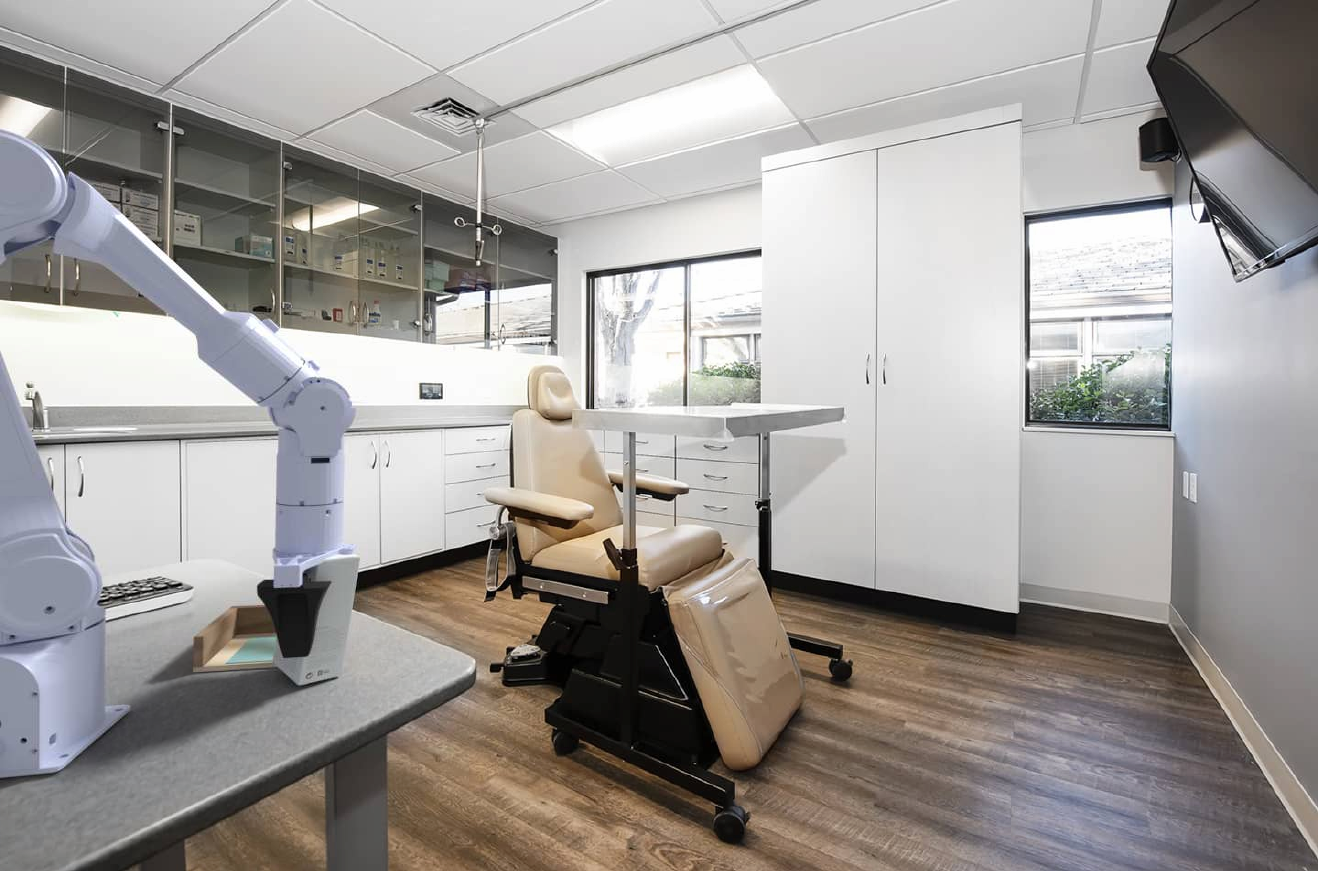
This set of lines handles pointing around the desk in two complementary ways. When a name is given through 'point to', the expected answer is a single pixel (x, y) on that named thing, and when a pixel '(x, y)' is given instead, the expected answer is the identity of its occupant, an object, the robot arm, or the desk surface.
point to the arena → (236, 641)
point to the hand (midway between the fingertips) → (307, 640)
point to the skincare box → (326, 623)
